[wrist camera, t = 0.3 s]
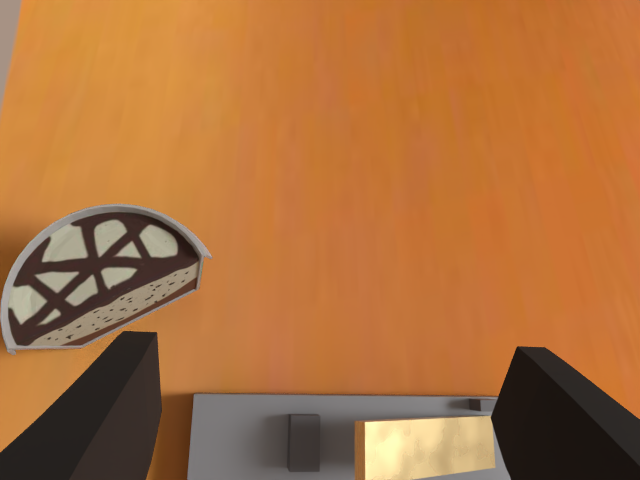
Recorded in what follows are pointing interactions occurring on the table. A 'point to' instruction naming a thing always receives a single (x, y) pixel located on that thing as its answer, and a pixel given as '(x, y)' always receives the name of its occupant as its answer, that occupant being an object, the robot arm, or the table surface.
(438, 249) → the table surface
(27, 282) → the food container
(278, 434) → the mounting plate
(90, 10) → the table surface
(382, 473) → the bar
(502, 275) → the table surface
